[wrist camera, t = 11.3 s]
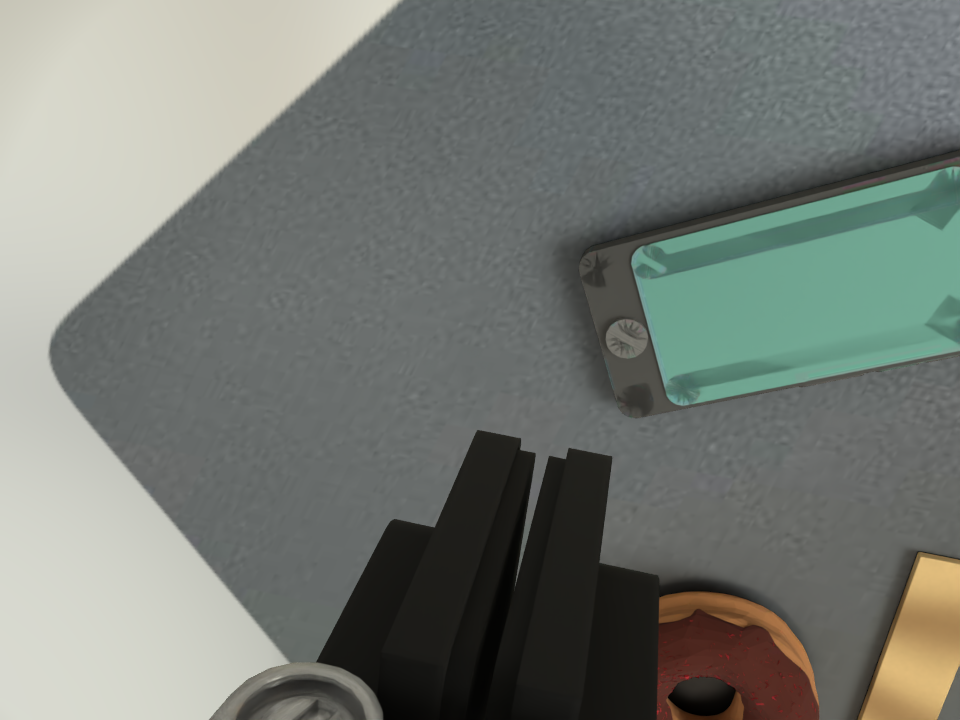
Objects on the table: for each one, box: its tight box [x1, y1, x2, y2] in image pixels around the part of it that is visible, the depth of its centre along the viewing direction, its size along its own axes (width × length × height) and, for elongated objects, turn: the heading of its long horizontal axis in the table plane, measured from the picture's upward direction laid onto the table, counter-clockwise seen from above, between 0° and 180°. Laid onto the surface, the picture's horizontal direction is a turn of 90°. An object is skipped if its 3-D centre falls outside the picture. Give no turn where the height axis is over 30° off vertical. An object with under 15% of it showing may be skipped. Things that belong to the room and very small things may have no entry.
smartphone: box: [579, 150, 960, 418], centre depth 33 cm, size 7×1×15 cm
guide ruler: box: [857, 552, 960, 720], centre depth 39 cm, size 16×3×1 cm, turn 174°
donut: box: [657, 591, 819, 720], centre depth 39 cm, size 10×10×4 cm
